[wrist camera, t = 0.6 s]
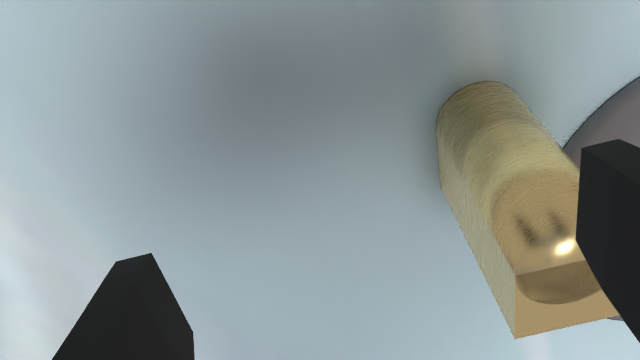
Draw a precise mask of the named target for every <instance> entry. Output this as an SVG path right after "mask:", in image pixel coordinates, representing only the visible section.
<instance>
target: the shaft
mask: <svg viewBox="0 0 640 360" xmlns="http://www.w3.org/2000/svg"><path fill="white" fill-rule="evenodd" d="M436 136H437V148H438V159H439V170H440V181H441V189H442V191H443V193H444V195H445V197H446V199H447V201H448V203H449V205H450V207H451V209H452V211H453V213H454V215H455V217H456V219H457V221H458V224H459V226H460V228H461V230H462V232H463V234H464V236H465V238H466V240H467V242H468V244H469V246H470V248H471V250H472V252H473V254H474V256H475V258H476V260H477V262H478V265H479V267H480V269H481V271H482V273H483V275H484V277H485V279H486V281H487V283H488V285H489V287H490V289H491V291H492V293H493V295H494V297H495V299H496V301H497V303H498V306H499V308H500V310H501V312H502V314H503V316H504V318H505V320H506V322H507V324H508V326H509V328H510V330H511V332H512V334H513V336H514V338H515V339H517V338H521V337H525V336H530V335H534V334H539V333H543V332H548V331H552V330H556V329H561V328H565V327H570V326H574V325H578V324H583V323H587V322H592V321H596V320H600V319H605V318H609V317H614V316H618V315H619V313H618V312H617V310H616V309H615V308H614V306H613V305H612V303H611V302H610V301H609V299H608V298H607V296H606V295H605V293H604V292H603V290H602V289H601V287H600V285H599V283H598V281H597V280H596V278H595V276H594V274H593V273H592V271H591V269H590V267H589V265H588V263H587V261H586V259H585V257H584V256H583V254H582V252H581V250H580V248H579V246H578V244H577V242H576V240H575V238H576V222H577V207H578V192H579V176H580V169H579V168H578V166H577V165H576V164H575V163H574V162H573V161H572V159H571V158H570V157H569V156H568V155H567V153H566V152H565V151H564V150H563V149H562V148H561V146H560V145H559V144H558V143H557V142H556V140H555V139H554V138H553V137H552V136H551V135H550V133H549V132H548V131H547V130H546V129H545V127H544V126H543V125H542V124H541V123H540V121H539V120H538V119H537V118H536V117H535V116H534V114H533V113H532V112H531V111H530V110H529V108H528V107H527V106H526V105H525V104H524V103H523V101H522V100H521V99H520V98H519V97H518V95H517V94H516V93H515V92H514V91H513V90H512V89H511V88H509V87H508V86H506V85H504V84H501V83H498V82H490V81H488V82H479V83H475V84H471V85H469V86H467V87H465V88H463V89H461V90H459V91H458V92H456V93H455V94H454V95H453V96H452V97H450V99H449V100H448V101H447V102H446V103H445V104H444V106H443V107H442V109H441V111H440V113H439V115H438V118H437V123H436Z"/></svg>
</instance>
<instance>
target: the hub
mask: <svg viewBox="0 0 640 360" xmlns="http://www.w3.org/2000/svg"><path fill="white" fill-rule="evenodd" d="M615 139H620V140H623V141H625V142H628V143H630V144H633V145H635V146H637V147H639V148H640V77H639V78H638V79H636V80H634V81H633V82H631V83H630V84H628V85H627V86H626V87H625V88H623V89H622V90H621V91H619V92H618V93H617V94H615V95H614V96H613V97H612V98H610V99H609V100H608V101H607V102H606V103H604V104H603V105H602V106H601V107H600V108H599V109H598V110H597V111H596V112H595V113H594V114H593V115H591V116H590V117H589V118H588V119H587V121H586V122H585V123H584V124H583V125H582V126H581V127H580V128H579V129H578V131H577V132H576V133H575V134H574V135H573V136H572V137H571V139H570V140H569V141H568V143H567V144H566V146H565V147H564V148H563V150H564V151H565V152H566V153H567V155H568V156H569V157H570V158H571V159H572V161H573V162H574V163H575V164H576V165H577V166H578V168H579V169H580V161H581V148H583V147H587V146H591V145H595V144H599V143H603V142H607V141H611V140H615ZM607 319H611V320H620V321H624V320H623V319H622V317H621V316H620V315H618V316H614V317H609V318H607Z"/></svg>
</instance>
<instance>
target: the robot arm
mask: <svg viewBox="0 0 640 360" xmlns="http://www.w3.org/2000/svg"><path fill="white" fill-rule="evenodd" d="M575 240H576V242H577V244H578V246H579V248H580V250H581V252H582V254H583V256H584V257H585V259H586V261H587V263H588V265H589V267H590V269H591V271H592V273H593V274H594V276H595V278H596V280H597V281H598V283H599V285H600V287H601V289H602V290H603V292H604V293H605V295H606V296H607V298H608V299H609V301H610V302H611V303H612V305H613V306H614V308H615V309H616V310H617V312H618V313H619V315H620V316H621V317H622V319H623V320H624V322H625V323H626V324H627V326H628V327H629V329H630V330H631V331H632V333H633V334H634V336H635V337H636V338H637V340H638V341H639V342H640V148H639V147H637V146H635V145H633V144H630V143H628V142H625V141H623V140H620V139H615V140H611V141H607V142H603V143H599V144H595V145H591V146H587V147H583V148H581V161H580V176H579V192H578V207H577V222H576V238H575ZM52 360H195V359H194V341H193V331H192V329H191V327H190V325H189V324H188V322H187V320H186V318H185V316H184V314H183V312H182V310H181V308H180V306H179V304H178V303H177V301H176V299H175V297H174V295H173V293H172V291H171V289H170V287H169V285H168V283H167V282H166V280H165V278H164V276H163V274H162V272H161V270H160V268H159V266H158V264H157V263H156V261H155V259H154V257H153V255H152V253H150V254H146V255H141V256H137V257H133V258H129V259H125V260H121V261H117V262H116V263H115V264H114V265H113V267H112V268H111V270H110V271H109V273H108V274H107V276H106V277H105V279H104V280H103V282H102V283H101V285H100V287H99V288H98V290H97V291H96V293H95V294H94V296H93V298H92V299H91V301H90V302H89V304H88V305H87V307H86V309H85V310H84V312H83V313H82V315H81V316H80V318H79V319H78V321H77V323H76V324H75V326H74V327H73V329H72V330H71V332H70V333H69V335H68V336H67V338H66V339H65V341H64V342H63V344H62V345H61V347H60V348H59V350H58V351H57V353H56V354H55V356H54V357H53V359H52Z"/></svg>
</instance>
